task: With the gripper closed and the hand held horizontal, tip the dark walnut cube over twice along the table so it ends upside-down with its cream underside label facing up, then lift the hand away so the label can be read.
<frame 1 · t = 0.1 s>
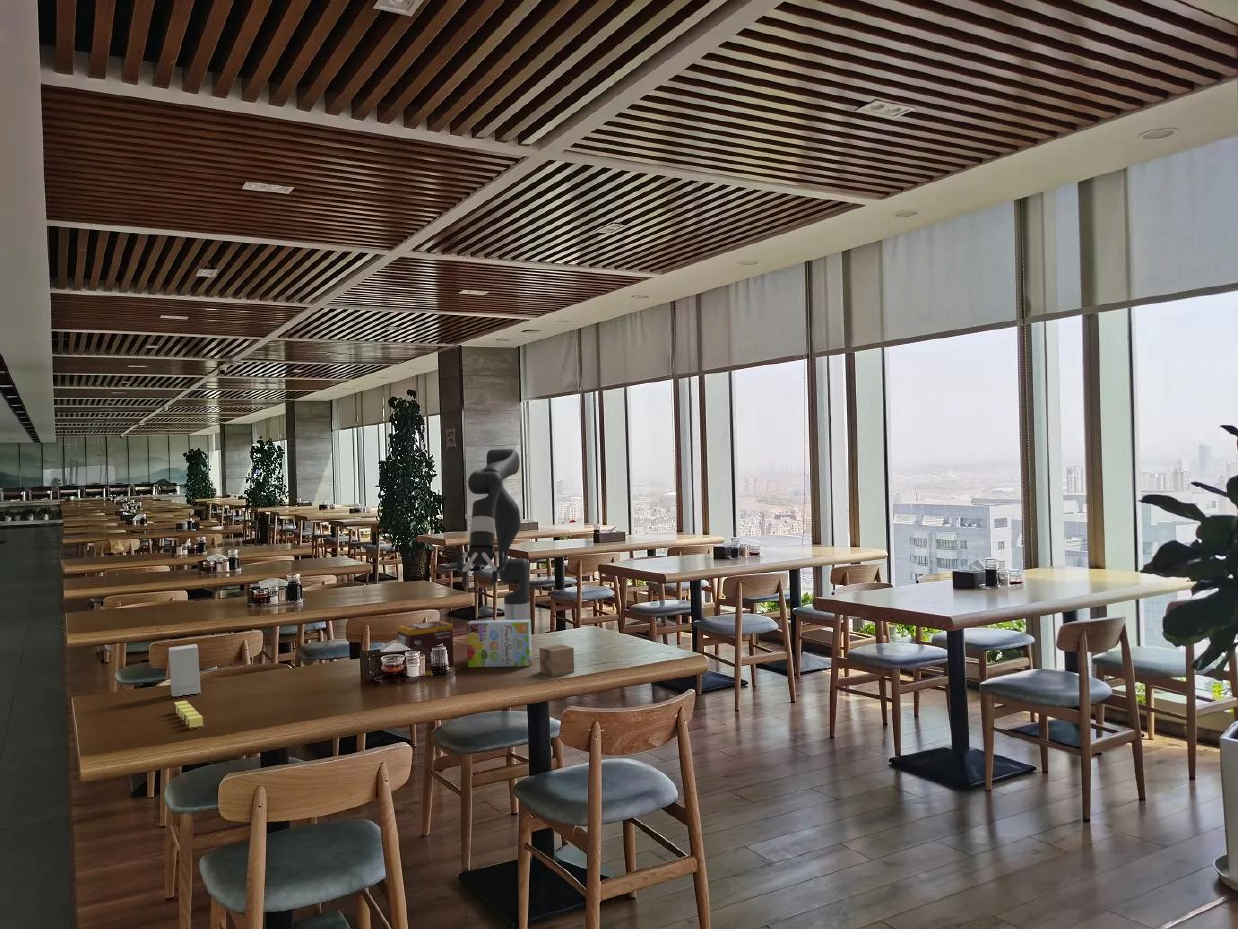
hand: (479, 584, 280), 31 cm above the table, tool tilted 20°, fingers open, 8 cm apart
skincare box: (185, 695, 284), on the table
snack box: (500, 666, 312), on the table
walnut cube: (557, 672, 299), on the table
supplement box: (426, 672, 305), on the table
yellow segmented bar: (181, 724, 253), on the table
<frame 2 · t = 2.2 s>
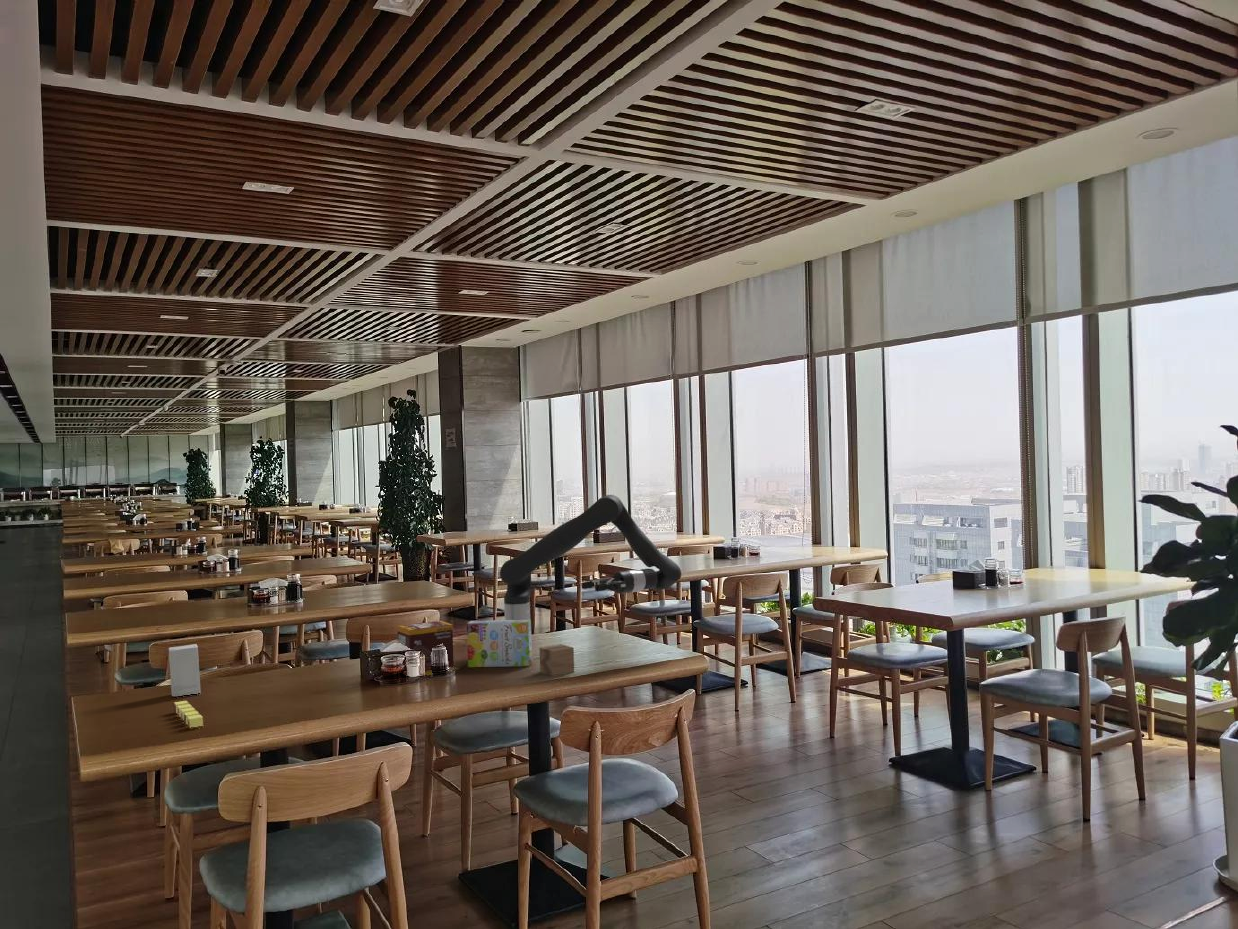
hand: (588, 587, 307), 26 cm above the table, tool horizontal, fingers open, 8 cm apart
nothing on the table moved.
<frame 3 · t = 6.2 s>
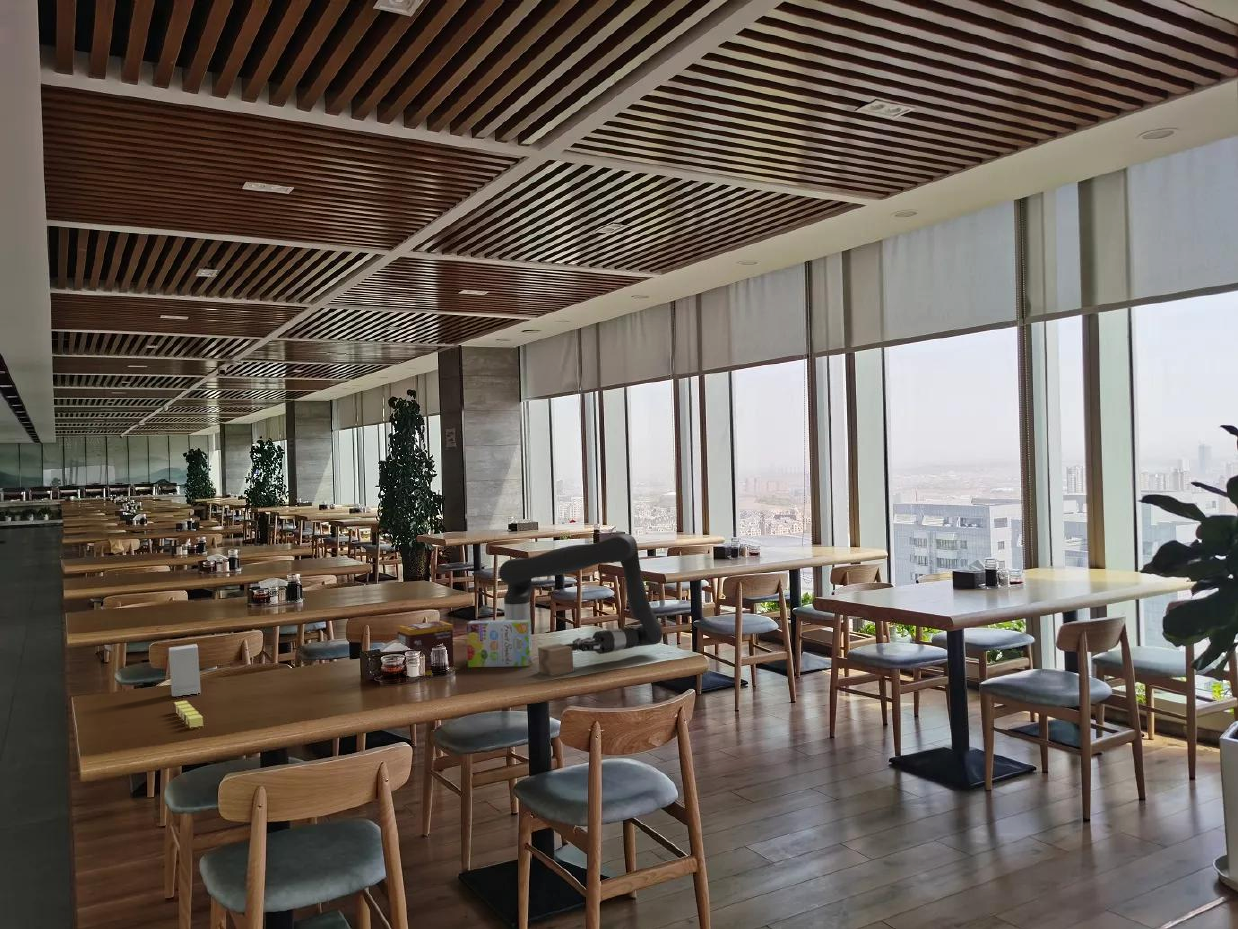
hand: (565, 648, 301), 7 cm above the table, tool horizontal, fingers closed
walnut cube: (556, 671, 299), on the table, touching gripper
everything else where it was.
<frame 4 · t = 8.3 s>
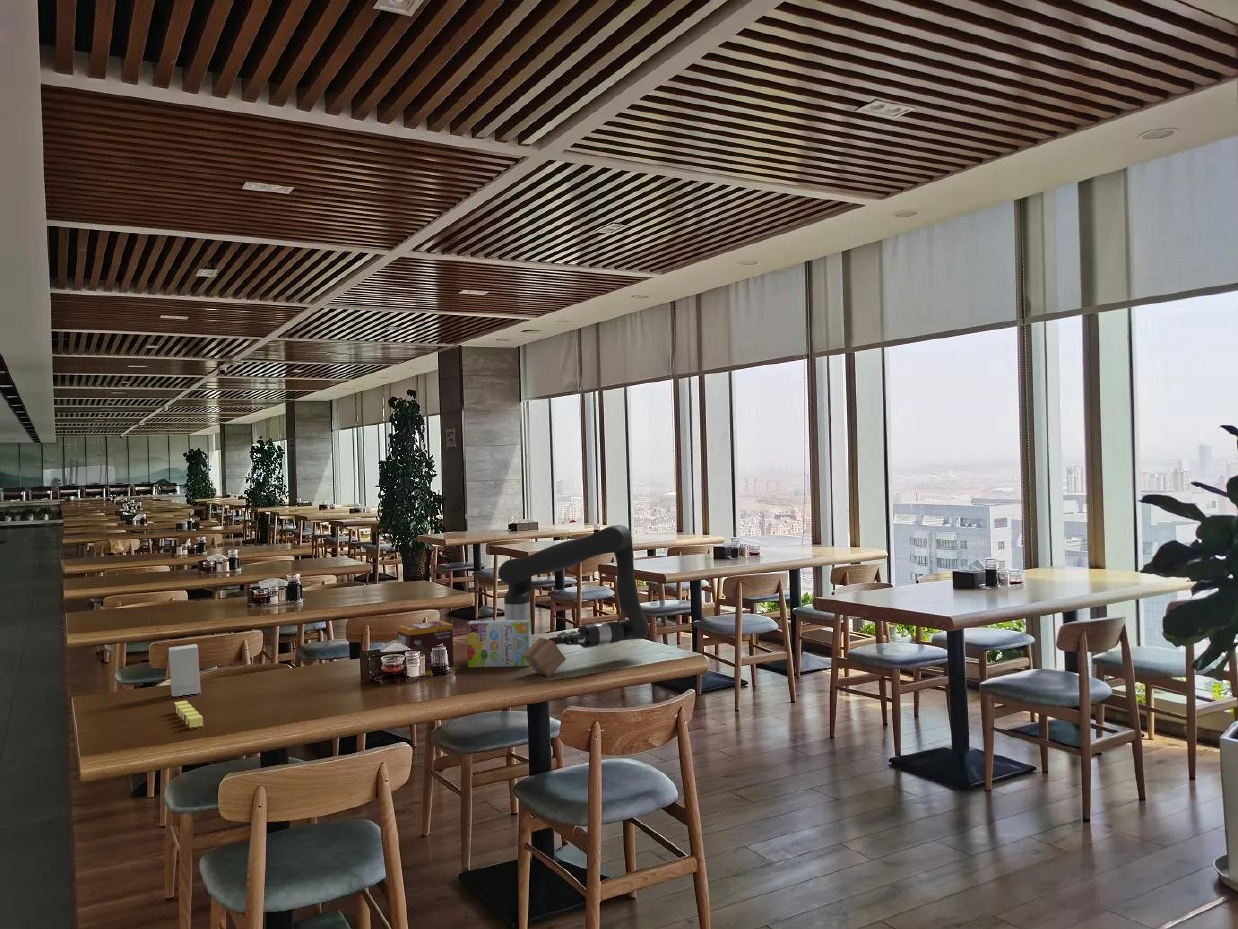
hand: (549, 641, 298), 10 cm above the table, tool horizontal, fingers closed
walnut cube: (551, 666, 298), point 2 cm above the table, tilted 36°, touching gripper
everything else where it was.
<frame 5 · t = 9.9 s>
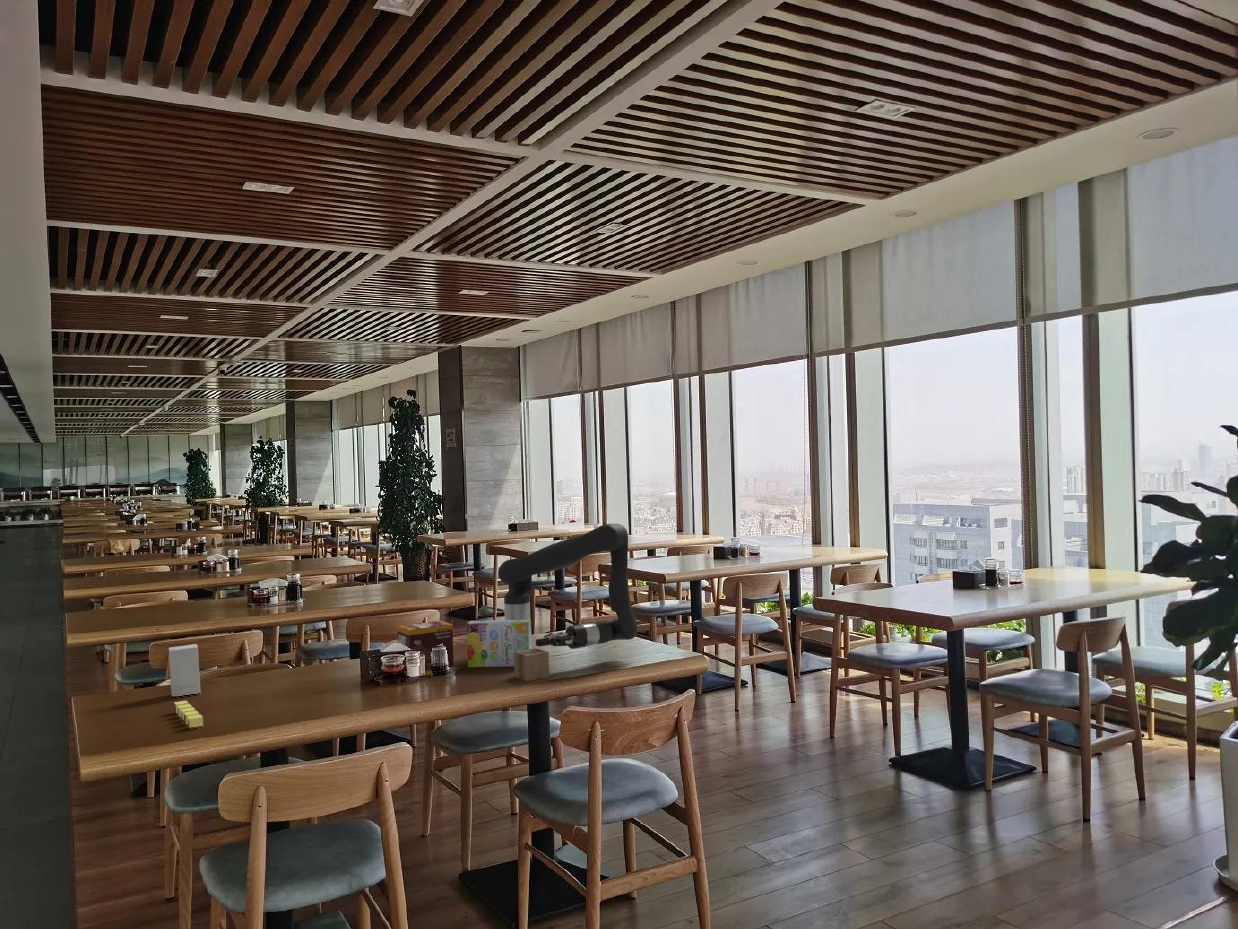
hand: (536, 643, 295), 10 cm above the table, tool horizontal, fingers closed
walnut cube: (542, 662, 296), point 4 cm above the table, tilted 90°
everything else where it was.
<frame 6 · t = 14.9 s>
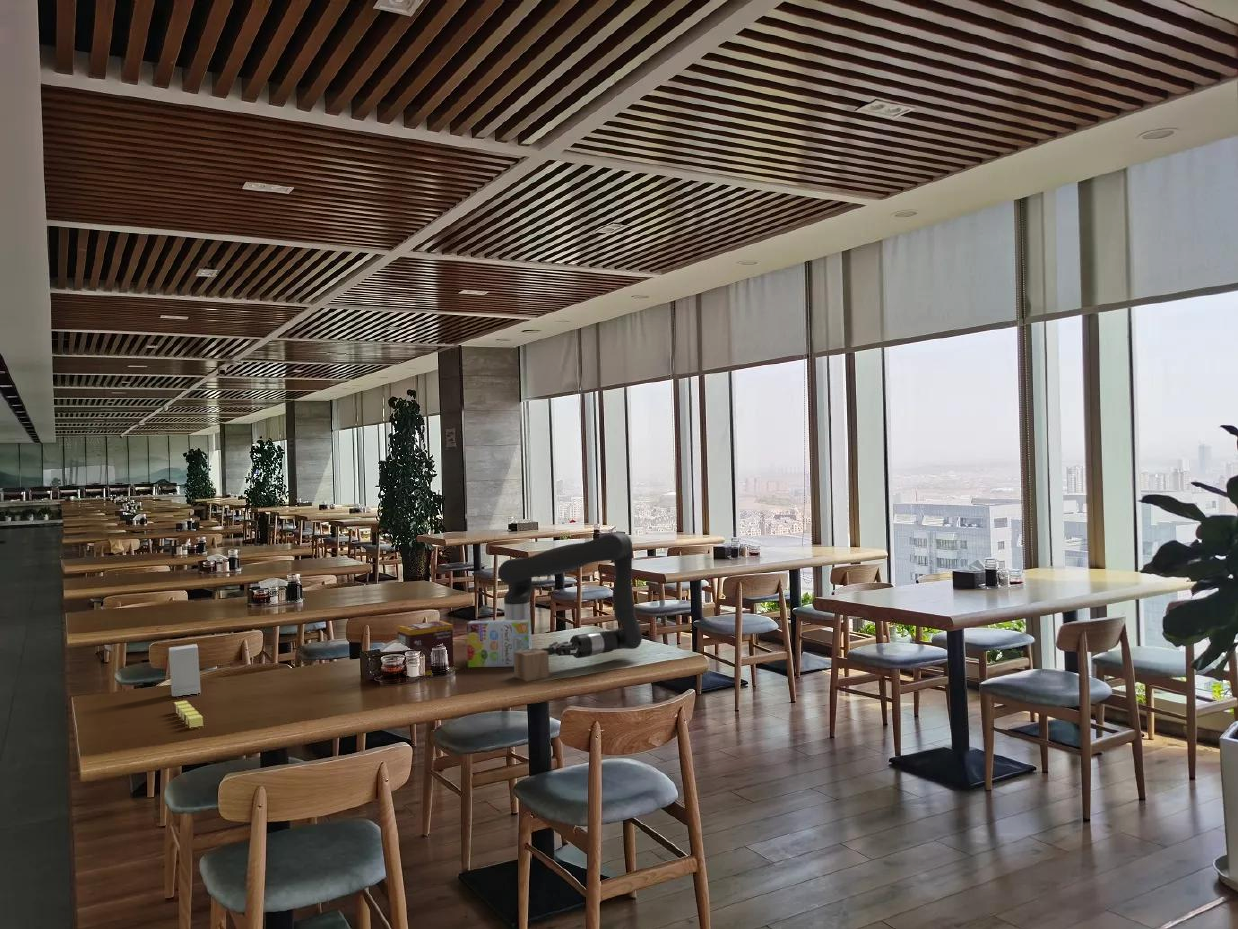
hand: (541, 652, 296), 7 cm above the table, tool horizontal, fingers closed
walnut cube: (542, 662, 296), point 4 cm above the table, tilted 90°, touching gripper
everything else where it was.
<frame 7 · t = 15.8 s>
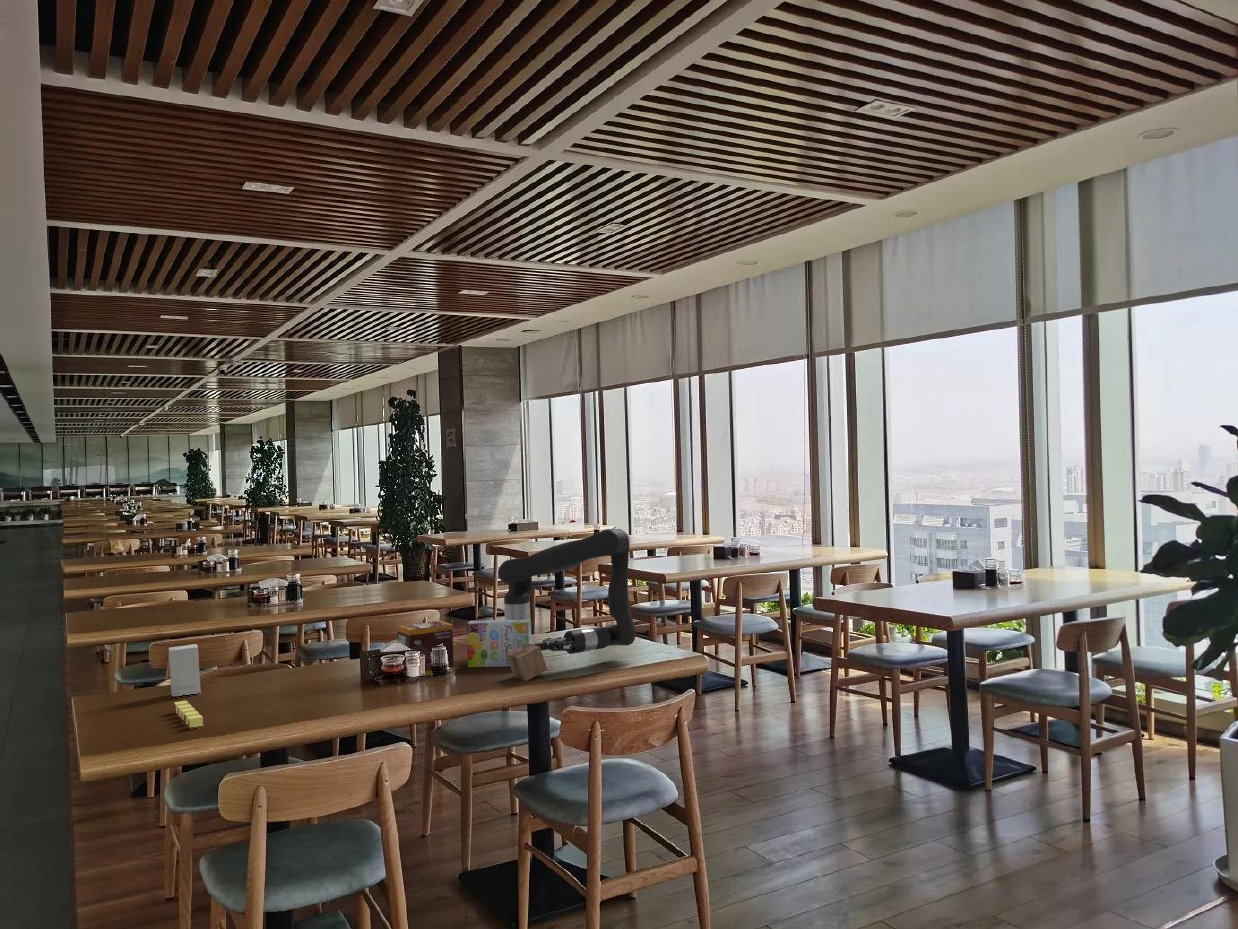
hand: (535, 647, 295), 9 cm above the table, tool horizontal, fingers closed
walnut cube: (537, 656, 295), point 6 cm above the table, tilted 108°, touching gripper
everything else where it was.
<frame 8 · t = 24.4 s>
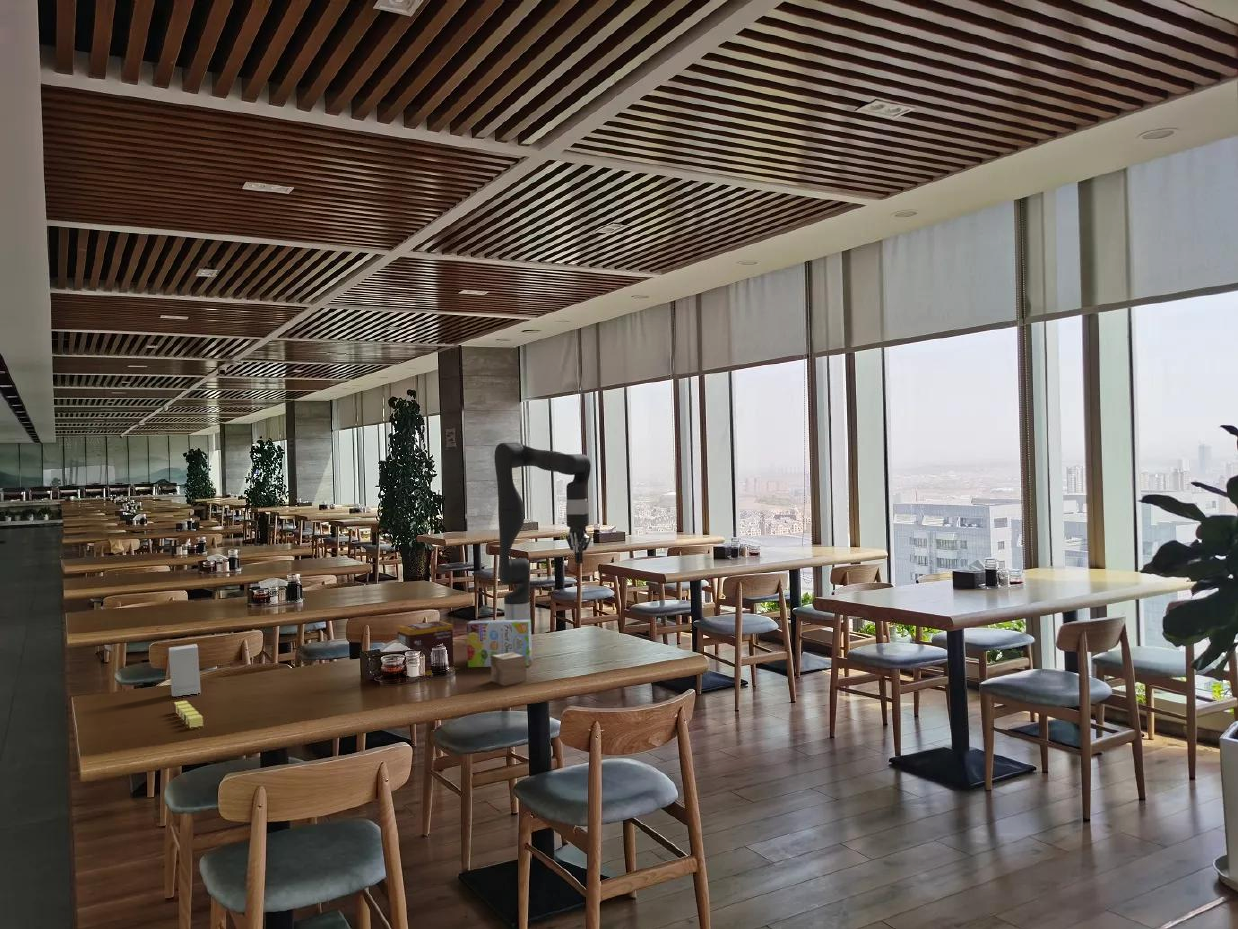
hand: (578, 563, 316), 33 cm above the table, tool pointing down, fingers closed
walnut cube: (508, 655, 289), point 8 cm above the table, tilted 180°
everything else where it was.
at the end: walnut cube tilted 180°; walnut cube inside the target area (1.7 cm from its centre), point 7.9 cm above the table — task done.
